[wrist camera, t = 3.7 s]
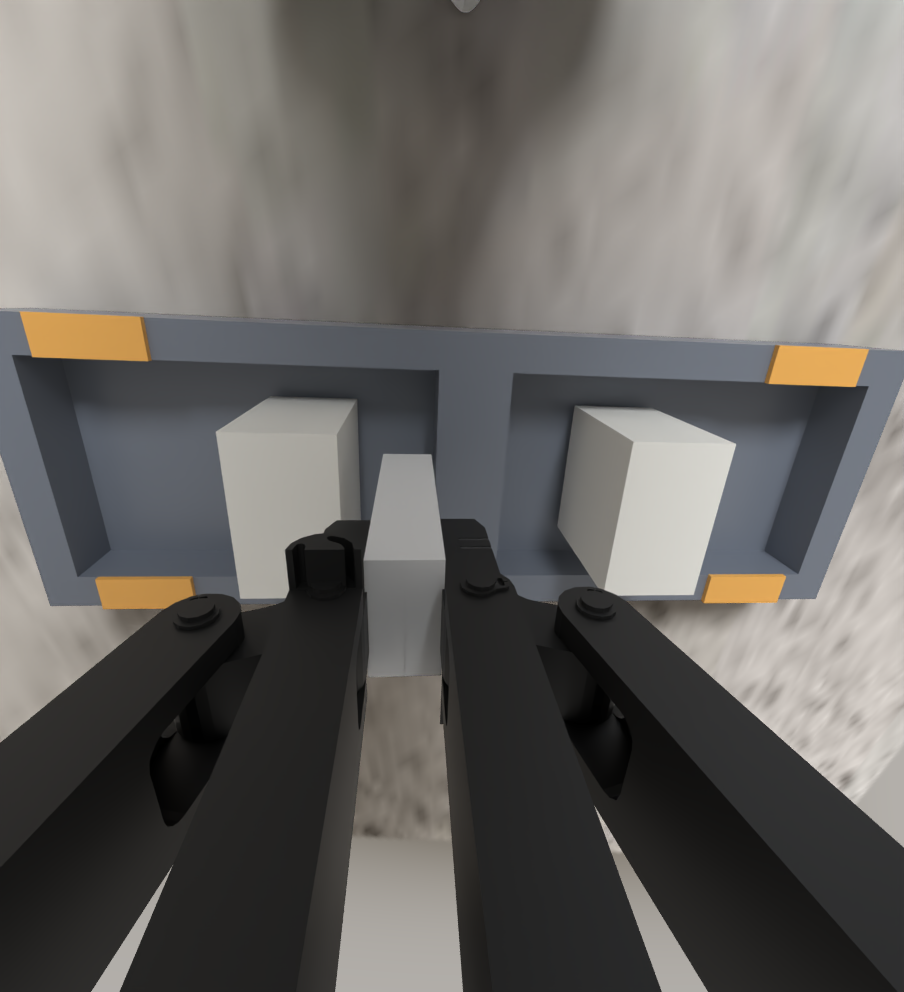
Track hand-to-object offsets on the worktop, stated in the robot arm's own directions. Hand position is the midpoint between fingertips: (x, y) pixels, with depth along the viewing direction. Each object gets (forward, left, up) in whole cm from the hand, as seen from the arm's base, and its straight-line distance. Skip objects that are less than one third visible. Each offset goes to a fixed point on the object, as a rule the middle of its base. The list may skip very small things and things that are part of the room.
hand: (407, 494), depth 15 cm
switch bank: (0, +2, -4) cm, 5 cm away
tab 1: (0, -3, -3) cm, 4 cm away
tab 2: (0, +8, -3) cm, 8 cm away
